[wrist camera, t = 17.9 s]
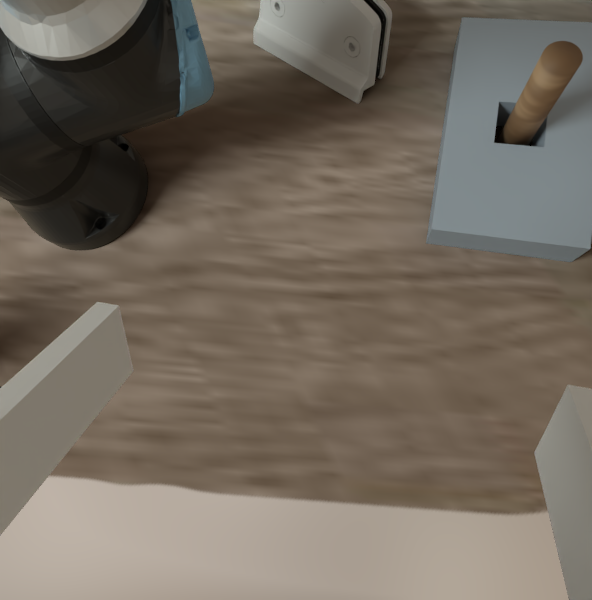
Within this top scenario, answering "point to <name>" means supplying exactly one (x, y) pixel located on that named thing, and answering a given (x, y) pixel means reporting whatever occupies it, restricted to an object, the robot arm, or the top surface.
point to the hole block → (514, 147)
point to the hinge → (328, 40)
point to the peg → (541, 92)
